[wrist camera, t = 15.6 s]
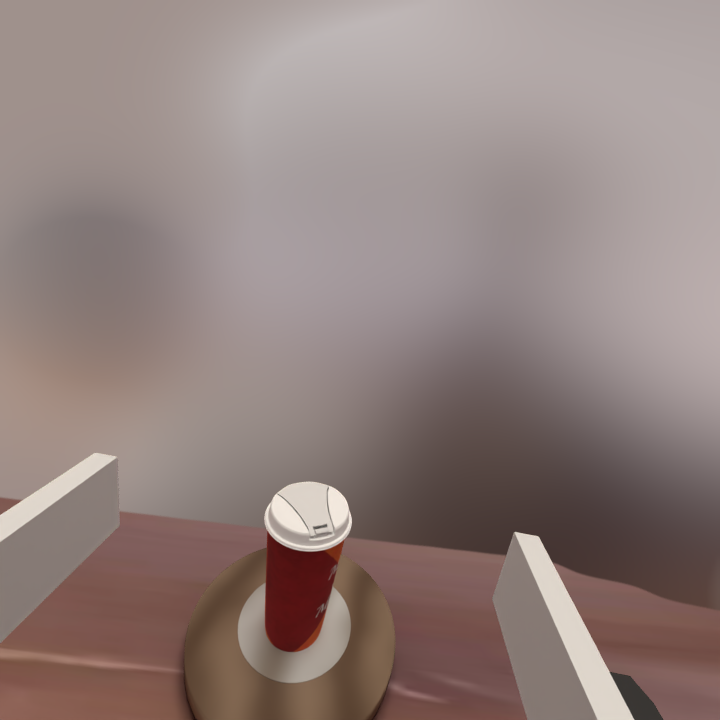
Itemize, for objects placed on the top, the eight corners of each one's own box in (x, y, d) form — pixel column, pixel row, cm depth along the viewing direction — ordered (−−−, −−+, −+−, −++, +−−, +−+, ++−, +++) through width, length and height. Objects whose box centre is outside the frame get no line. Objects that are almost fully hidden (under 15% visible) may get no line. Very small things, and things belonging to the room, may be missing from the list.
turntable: (391, 573, 46) (394, 560, 46) (391, 796, 27) (396, 778, 27) (237, 543, 47) (238, 529, 47) (131, 739, 28) (130, 720, 27)
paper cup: (344, 648, 35) (368, 527, 31) (261, 678, 31) (276, 546, 27) (317, 579, 41) (335, 472, 37) (247, 598, 38) (257, 482, 34)
